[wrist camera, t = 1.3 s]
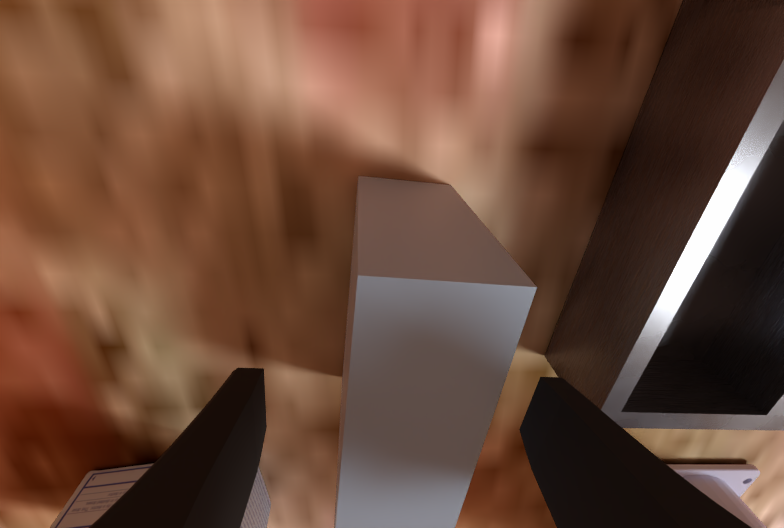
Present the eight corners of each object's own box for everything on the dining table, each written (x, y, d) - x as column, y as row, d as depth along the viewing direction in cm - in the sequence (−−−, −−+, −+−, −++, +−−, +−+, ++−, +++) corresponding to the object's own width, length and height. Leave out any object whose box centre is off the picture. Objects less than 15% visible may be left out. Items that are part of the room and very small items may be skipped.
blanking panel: (413, 378, 17) (444, 556, 11) (342, 376, 16) (332, 560, 10) (450, 184, 13) (536, 287, 7) (358, 175, 12) (357, 275, 6)
